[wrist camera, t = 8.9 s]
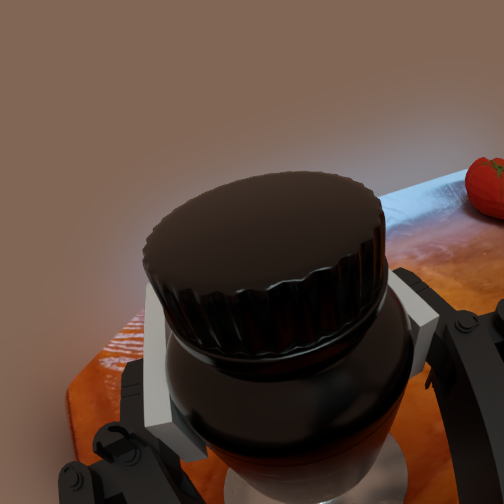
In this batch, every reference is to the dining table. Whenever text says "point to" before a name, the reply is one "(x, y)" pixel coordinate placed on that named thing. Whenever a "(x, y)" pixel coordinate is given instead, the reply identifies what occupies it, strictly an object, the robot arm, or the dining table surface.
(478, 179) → the tomato
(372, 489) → the hub disc
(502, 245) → the dining table surface
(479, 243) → the dining table surface
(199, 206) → the supplement bottle
